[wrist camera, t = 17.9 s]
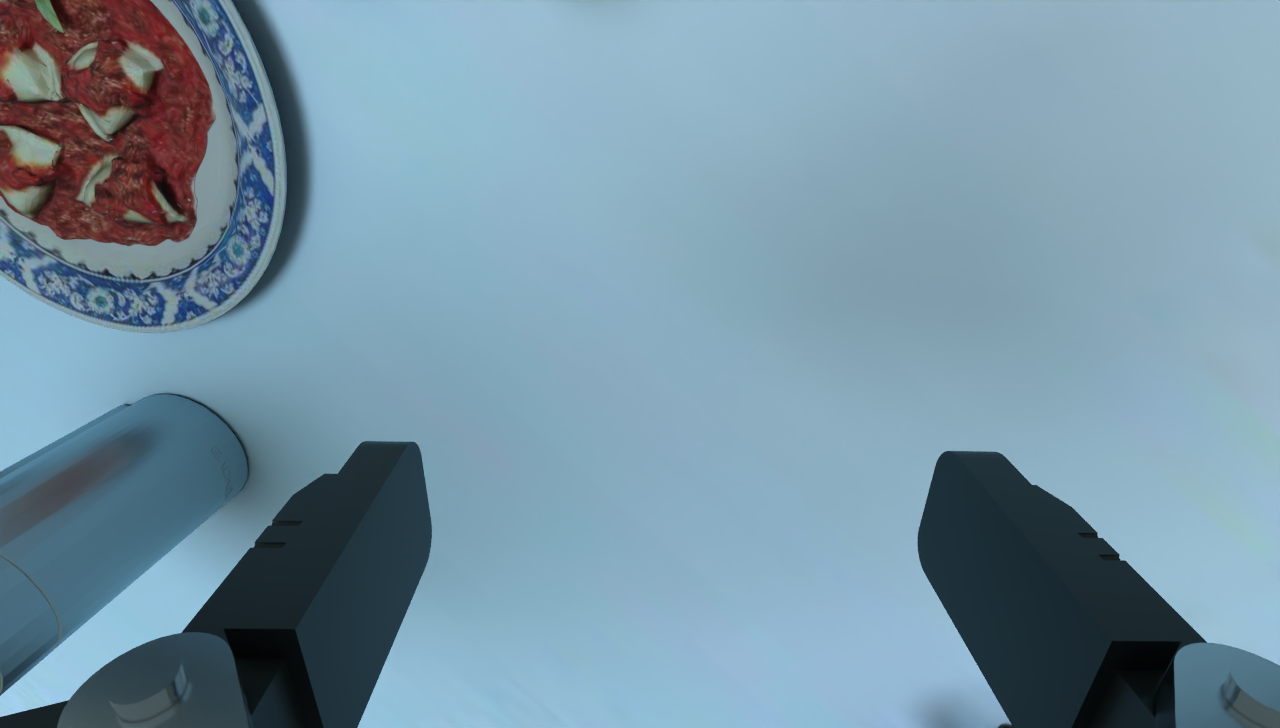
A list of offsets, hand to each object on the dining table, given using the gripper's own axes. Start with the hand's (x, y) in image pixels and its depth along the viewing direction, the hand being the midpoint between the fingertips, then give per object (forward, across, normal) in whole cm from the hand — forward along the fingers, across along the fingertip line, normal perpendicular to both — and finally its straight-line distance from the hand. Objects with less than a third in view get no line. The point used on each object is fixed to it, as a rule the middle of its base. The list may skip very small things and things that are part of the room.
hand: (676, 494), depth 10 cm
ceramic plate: (+31, +32, -3) cm, 44 cm away
